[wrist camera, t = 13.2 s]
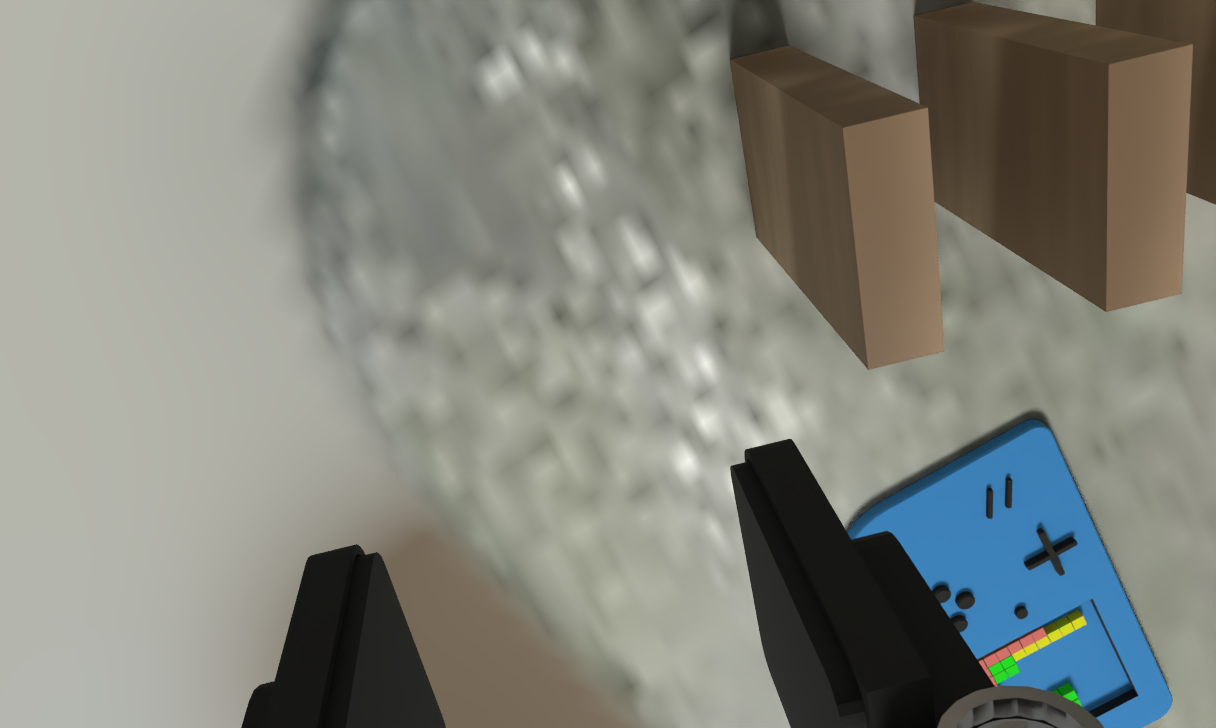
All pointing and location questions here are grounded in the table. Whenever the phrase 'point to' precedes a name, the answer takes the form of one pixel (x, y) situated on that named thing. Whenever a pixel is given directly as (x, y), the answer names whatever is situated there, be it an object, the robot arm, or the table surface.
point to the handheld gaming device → (1027, 576)
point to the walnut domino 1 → (844, 199)
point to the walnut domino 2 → (1062, 144)
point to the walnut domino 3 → (1212, 21)
